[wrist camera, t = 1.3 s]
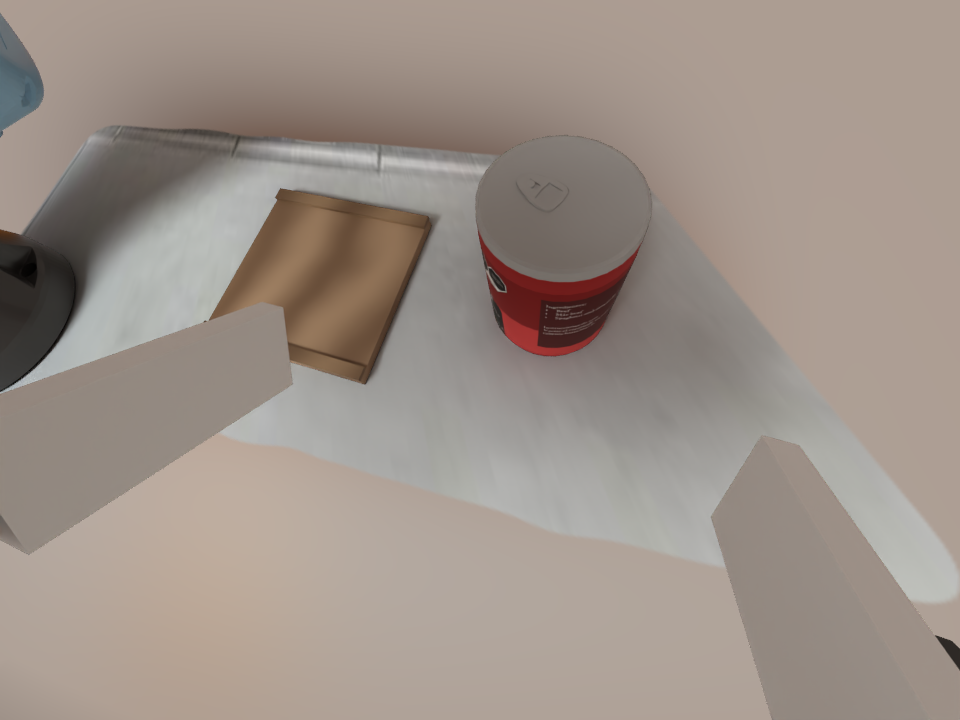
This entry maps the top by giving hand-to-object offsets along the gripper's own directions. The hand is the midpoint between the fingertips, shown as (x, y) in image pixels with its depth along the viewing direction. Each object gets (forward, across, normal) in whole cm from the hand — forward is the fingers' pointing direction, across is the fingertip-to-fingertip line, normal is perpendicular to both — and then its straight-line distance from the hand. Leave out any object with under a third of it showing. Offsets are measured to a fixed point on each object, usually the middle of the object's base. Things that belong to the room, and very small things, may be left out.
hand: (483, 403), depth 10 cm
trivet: (+16, -18, -4) cm, 25 cm away
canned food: (+18, 0, -3) cm, 18 cm away
